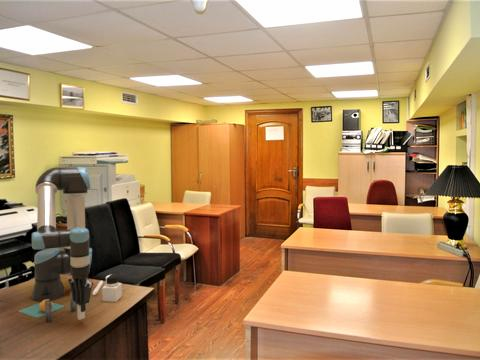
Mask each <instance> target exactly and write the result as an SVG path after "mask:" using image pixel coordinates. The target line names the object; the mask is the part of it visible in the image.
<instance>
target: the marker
mask: <svg viewBox="0 0 480 360" xmlns="http://www.w3.org/2000/svg"><path fill="white" fill-rule="evenodd" d="M103 284H104V281H103V280H99V282H98V283H97V285H96V287H95V288H94V289H93V291H92V292H91V295H92V296H96V295H97V294H98V292H99V291H100V289H101V288H102V287H103Z"/></svg>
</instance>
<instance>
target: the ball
mask: <svg viewBox="0 0 480 360" xmlns="http://www.w3.org/2000/svg"><path fill="white" fill-rule="evenodd" d="M47 300H49V299H46V300H43V301H40V302H41V303H40V302H39V303H40V310H41V311H43V312H45V301H47ZM53 303H54V302H52V307H53Z"/></svg>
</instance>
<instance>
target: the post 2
mask: <svg viewBox="0 0 480 360" xmlns="http://www.w3.org/2000/svg"><path fill="white" fill-rule="evenodd" d="M75 298H76V297H75ZM69 299H70V301H69V302H70V303H69V304H70V306H69V308H70V312H71V313H75V312H77V304H76V302H75V301H73V298H72V293H71V291H70V292H69Z"/></svg>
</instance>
